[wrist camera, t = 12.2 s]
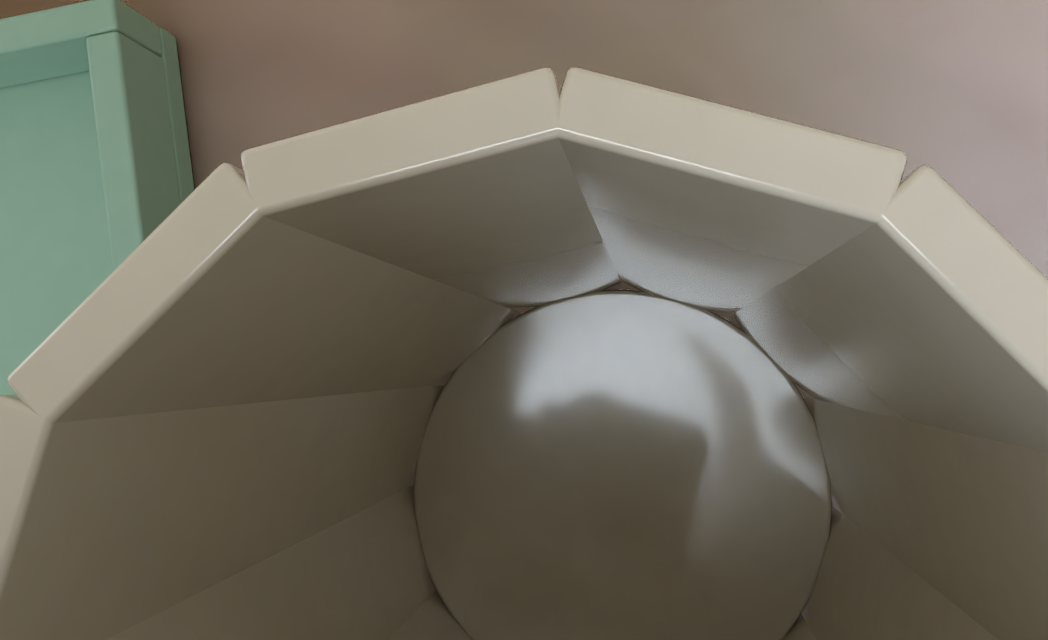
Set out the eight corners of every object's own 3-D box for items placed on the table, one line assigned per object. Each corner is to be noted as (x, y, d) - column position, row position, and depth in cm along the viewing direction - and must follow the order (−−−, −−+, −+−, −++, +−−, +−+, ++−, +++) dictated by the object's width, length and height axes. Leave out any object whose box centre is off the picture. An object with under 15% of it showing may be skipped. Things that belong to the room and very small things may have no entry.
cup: (949, 510, 15) (1664, 866, 4) (609, 814, 15) (506, 1797, 5) (626, 179, 16) (566, -190, 5) (315, 477, 16) (-309, 686, 6)
